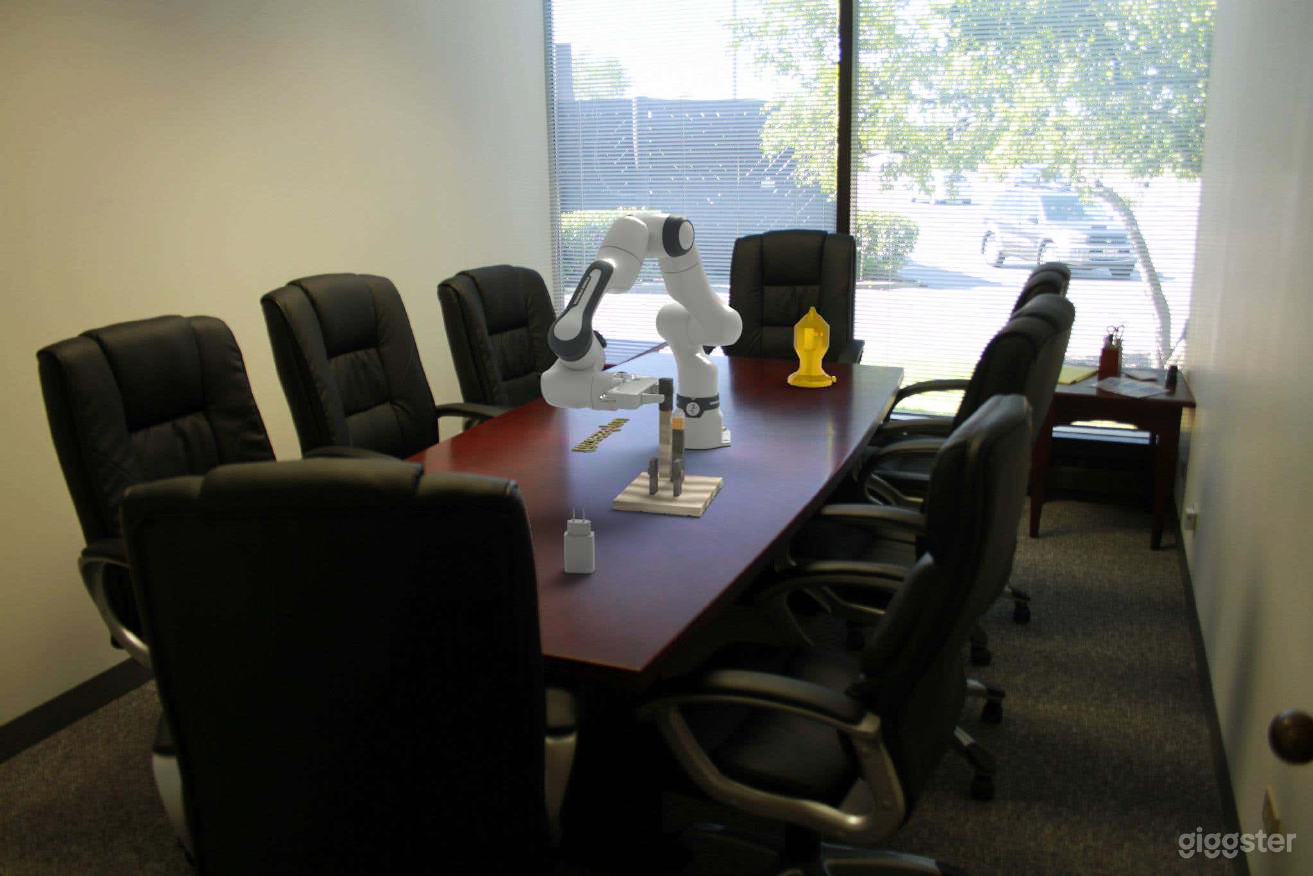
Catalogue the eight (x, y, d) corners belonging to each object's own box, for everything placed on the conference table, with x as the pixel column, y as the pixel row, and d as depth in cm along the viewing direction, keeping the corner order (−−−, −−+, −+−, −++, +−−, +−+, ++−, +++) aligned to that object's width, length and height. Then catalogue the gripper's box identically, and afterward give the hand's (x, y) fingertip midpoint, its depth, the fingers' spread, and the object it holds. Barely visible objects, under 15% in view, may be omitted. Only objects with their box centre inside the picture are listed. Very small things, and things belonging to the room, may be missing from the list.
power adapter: (567, 566, 185) (565, 505, 182) (595, 567, 185) (594, 506, 182) (564, 572, 182) (562, 511, 179) (592, 573, 182) (591, 512, 179)
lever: (660, 474, 224) (660, 377, 219) (674, 475, 223) (674, 377, 218) (656, 478, 221) (657, 379, 216) (670, 479, 220) (671, 380, 215)
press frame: (642, 479, 241) (642, 415, 237) (722, 485, 236) (723, 420, 232) (613, 509, 219) (612, 438, 215) (700, 516, 213) (701, 444, 210)
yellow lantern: (831, 376, 374) (834, 303, 367) (839, 389, 350) (843, 310, 344) (785, 376, 375) (787, 303, 368) (790, 389, 351) (793, 310, 344)
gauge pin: (671, 419, 235) (671, 409, 234) (692, 420, 233) (692, 410, 233) (661, 428, 226) (661, 418, 225) (682, 429, 225) (682, 419, 224)
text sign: (565, 452, 268) (592, 453, 266) (565, 449, 268) (592, 450, 266) (610, 420, 305) (634, 421, 303) (610, 417, 305) (634, 418, 303)
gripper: (594, 386, 210) (656, 389, 207) (622, 370, 230) (680, 372, 226) (595, 414, 212) (656, 418, 208) (623, 396, 231) (680, 399, 228)
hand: (669, 394), depth 217 cm, fingers open, 8 cm apart
